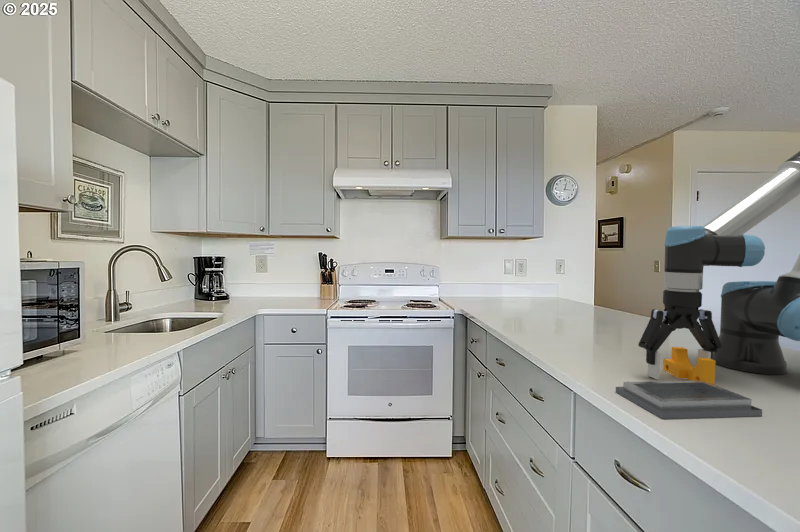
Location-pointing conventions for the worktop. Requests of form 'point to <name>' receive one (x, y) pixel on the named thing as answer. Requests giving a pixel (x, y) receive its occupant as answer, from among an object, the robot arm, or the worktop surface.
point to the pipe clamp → (690, 366)
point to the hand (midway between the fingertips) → (678, 377)
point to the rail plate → (687, 399)
